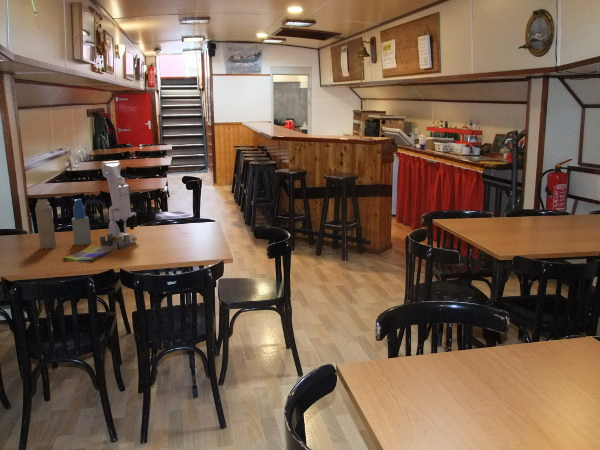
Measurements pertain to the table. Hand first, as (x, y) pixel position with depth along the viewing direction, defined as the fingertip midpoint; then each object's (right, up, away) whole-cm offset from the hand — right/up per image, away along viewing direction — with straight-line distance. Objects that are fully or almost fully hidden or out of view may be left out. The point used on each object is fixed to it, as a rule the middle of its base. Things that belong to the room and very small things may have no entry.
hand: (127, 230), depth 314 cm
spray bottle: (-25, -7, +2) cm, 26 cm away
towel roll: (0, -4, 0) cm, 4 cm away
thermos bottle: (-41, -9, -6) cm, 43 cm away
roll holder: (-4, -8, -7) cm, 12 cm away
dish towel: (-11, -13, -23) cm, 29 cm away
